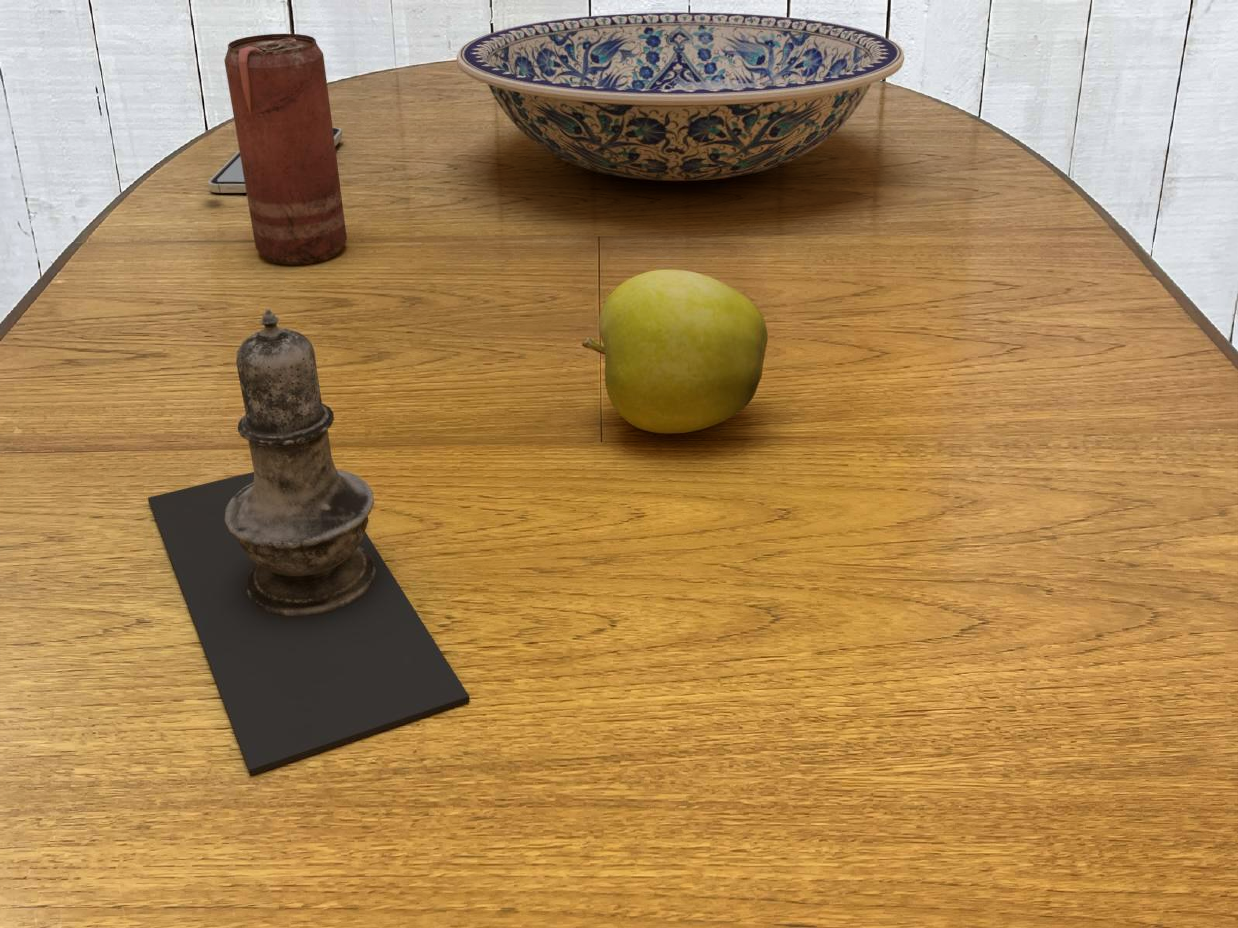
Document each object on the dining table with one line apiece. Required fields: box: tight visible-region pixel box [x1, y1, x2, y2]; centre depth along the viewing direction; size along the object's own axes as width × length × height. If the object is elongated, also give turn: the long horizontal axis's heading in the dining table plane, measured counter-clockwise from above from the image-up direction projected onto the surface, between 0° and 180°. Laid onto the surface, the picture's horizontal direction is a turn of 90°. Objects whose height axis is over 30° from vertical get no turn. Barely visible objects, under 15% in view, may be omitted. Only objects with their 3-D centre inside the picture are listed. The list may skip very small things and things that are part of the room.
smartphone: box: [208, 126, 343, 194], centre depth 103 cm, size 7×1×15 cm
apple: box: [581, 269, 769, 434], centre depth 62 cm, size 8×9×8 cm
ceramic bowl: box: [456, 12, 905, 182], centre depth 99 cm, size 34×34×10 cm
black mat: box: [147, 471, 471, 777], centre depth 52 cm, size 8×20×1 cm, turn 27°
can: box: [224, 33, 348, 266], centre depth 83 cm, size 6×6×14 cm
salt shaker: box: [224, 309, 376, 616], centre depth 49 cm, size 6×6×12 cm
